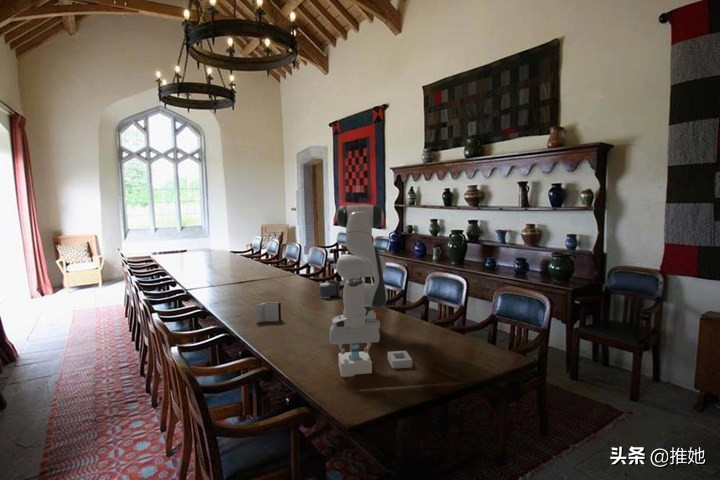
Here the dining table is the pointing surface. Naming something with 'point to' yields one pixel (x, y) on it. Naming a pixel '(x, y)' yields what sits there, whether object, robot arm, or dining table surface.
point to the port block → (354, 364)
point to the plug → (354, 352)
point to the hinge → (268, 312)
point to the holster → (399, 359)
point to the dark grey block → (329, 289)
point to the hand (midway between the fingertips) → (354, 353)
